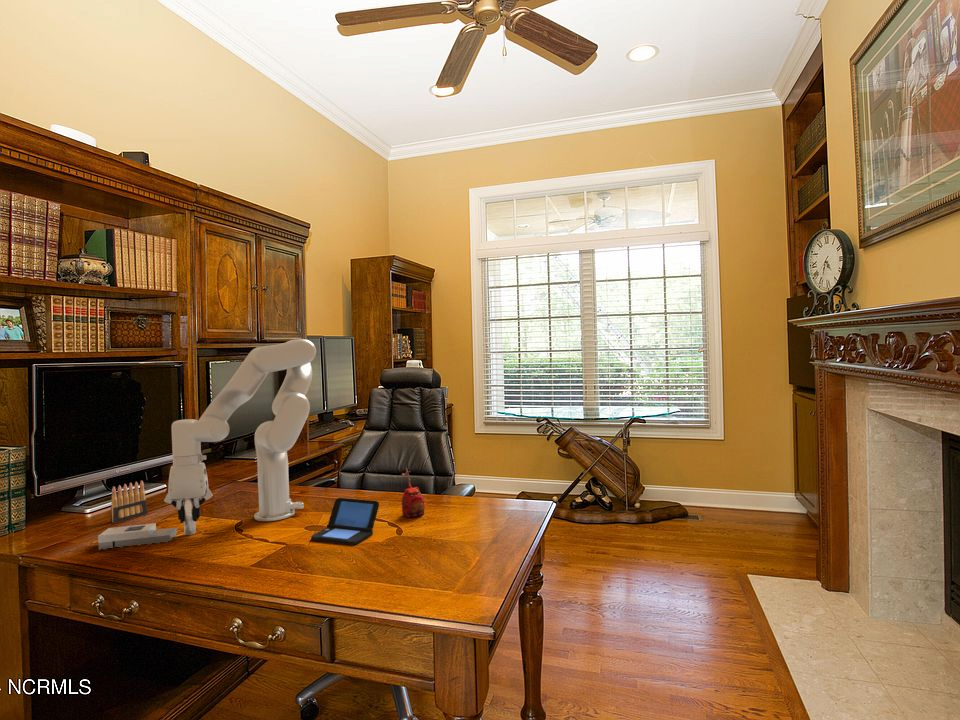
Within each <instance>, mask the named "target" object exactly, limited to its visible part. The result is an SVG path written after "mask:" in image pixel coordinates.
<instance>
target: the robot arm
mask: <svg viewBox="0 0 960 720" xmlns="http://www.w3.org/2000/svg"><path fill="white" fill-rule="evenodd" d="M316 355H317V348H316V346H315V344H314V343H313V342H312V341H311V340H308V339H306V338H298V339H291V340H288V341H286V342H283V343H278V344H273V345H265V346H257V347H255V348H253V349H252V350H251V351H250V352H249V353H248V354H247V356H246V357H245V359H243V361H242V363H241V364H240V366H239V367H238V368H237V370H236V371H235V373H234V374H233V376H232V377H231V378H230V379H229V381H228V382H227V383H226V385H225V386H223V388H222V389H221V390H220V391H219V393H218V394H217V395H216V396H215V397H214V398H213V400H212V401H211V402H210V404H209V405H208V406H207V408H206V409H205V410H204V412H203V413H202V415H201V416H200V417H199V419H193V418H192V419H190V418H189V419H178V420H175V421H173V422H172V423H171V444H172V445H171V447H172V448H171V450H172V465H171V466H170V470H169V476H168V487H167V489H168V492H167V494H166V496H165V498H164V499H163V502H165V503H166V504H170V505H172V507H174V508H175V509H176V510H177V514H178V515H177V516H178V517H177V519H178V520H179V523H180V524H184V508H183V499H189V498H194V503H195V506H194V509H193V517H194V521H195V522H198V521H199V518H201V506H202V505H203V504H204V503H205V502H206V501H208V500H209V499H211V498H213V493H212V491H211V490H210V488H209V481H208V480H209V479H208V473H207V467H206V464H205V463H204V462H203V461H204V460H205V461H206V460H207V455H206V454H205V455H204V454H203V453H202V450H201V449H202V448H201V447H202V445H201V444H202V443H206V442H207V443H214V442H217V443H218V442H220V441H222V440H225V438H227V437H228V436H229V433H230V425H229V422H228V420H229V418H230V417H231V416H232V415H233V413H234V412H236V410H237V409H238V408H240V407H241V406H242V405H244V404H245V403H246V402H248V401H249V400H251V399H252V398H253V397H254V395H255V394H256V392H257V391H258V389H259V388H260V387H261V385H262V383H263V382H264V381H265V379H266V377H267V376H268V375H269V374H270V373H274V372H279V371H285V370H286V374H285V377H284V380H283V382H282V384H281V386H280V388H279V390H278V391H277V393H276V395H275V396H274V399H273V402H272V403H271V404H272V405H271V411H272V413H273V415H274V416H275V417H274V419H273V420H267V421H265V422H262V423H261V424H259V426H257V428H256V430H255V433H254V446H255V447H254V448H255V454H256V462H257V463H256V464H257V487H258V488H257V489H258V491H257V492H258V509H259V510H258V511H257V512H256V513H254V516H253V517H254V520H256V521H258V522H273V521H280V520H284V519H288V518H290V517H292V516H294V515H295V513H296V510H295V509H298V510H299V509H304V508H305V507H304V502H303V501H295V502H294V501H292V498H290V484H289V483H290V481H289V480H290V479H289V458H288V457H289V456H288V451H290V450H291V449H293V446H294V445H295V443H296V442H297V440H298V438H299V436H300V435H301V432H302V430H303V428H304V425H305V424H306V421H307V419H308V417H309V414H310V411H311V404H310V401H309V399H308V397H307V396H306V395H307V393H308V390H309V388H310V386H311V383H312V380H313V368H312V363H311V362H313V360H314V359H315V357H316Z"/></svg>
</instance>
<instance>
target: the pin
mask: <svg viewBox="0 0 960 720" xmlns="http://www.w3.org/2000/svg"><path fill="white" fill-rule="evenodd" d="M194 506H195V503H194V498H189V499H183V508H184V522H183V530H184V532H183V533H184V536H185V535H191V536H193V535H192V534H194V535H195V533H196V534H197V530H196V529H197V528H196V527H197V526H196V521H194V517H193V509H194Z"/></svg>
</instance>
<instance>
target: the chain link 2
mask: <svg viewBox="0 0 960 720" xmlns="http://www.w3.org/2000/svg"><path fill="white" fill-rule="evenodd" d="M176 534H178V528H177V527H170V528H162V529H161V528H160V529H159V528H158V529H156V530H155V531H154V532H153V533H152V534H151V535H150V536H149V537H148V538H138V539H129V540H120V541H115V547H120V548H124V547H123V546H129V547H131V546H130V545H138V546H140V545H139V544H147V545H153V544H152V543H156V544H161V543H160V542H165V543H169V542H168V541H170V542H171V541H172V540H173V539H174V538H175V537H176V536H177V535H176ZM175 535H176V536H175ZM174 536H175V537H174ZM173 537H174V538H173ZM172 538H173V539H172ZM115 547H114V548H115Z"/></svg>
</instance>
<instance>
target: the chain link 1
mask: <svg viewBox="0 0 960 720" xmlns="http://www.w3.org/2000/svg"><path fill="white" fill-rule="evenodd" d="M156 524H157V523H156V522H154V523H146V524H137V525H128V526H127V525H125V526H115V527H108V528H107V529H105V530H104V531H103V532H101V533H100V534H98V535H97V537H98V538H97V541H98V550H99V551H100V550H101V549H103V550H108V549H107V548H112V549H114V548H115V547H114V546H115V541H120V540H129V539H138V538H148V537H149V536H150V535H151V534H152V533H153V532H154V531H155V530H157V525H156ZM113 547H114V548H113Z"/></svg>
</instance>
